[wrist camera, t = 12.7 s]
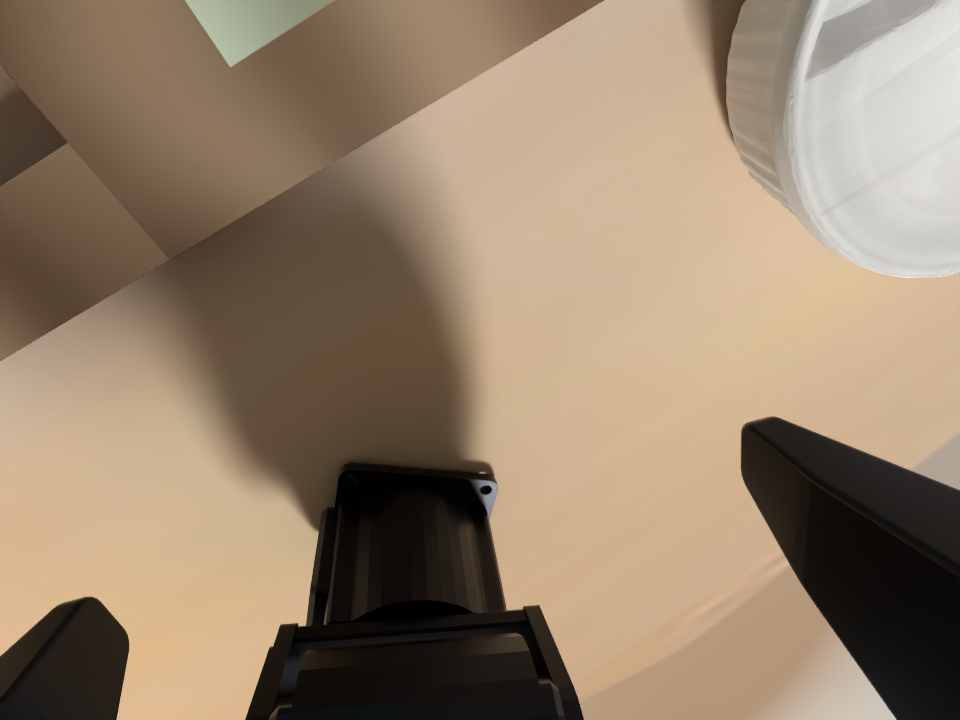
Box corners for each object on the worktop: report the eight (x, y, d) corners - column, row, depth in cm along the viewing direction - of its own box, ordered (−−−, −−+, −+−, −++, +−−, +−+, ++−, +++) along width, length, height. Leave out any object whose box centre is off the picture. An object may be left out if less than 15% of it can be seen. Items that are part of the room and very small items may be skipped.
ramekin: (883, -302, 14) (1115, -461, 10) (1107, -27, 18) (1349, -48, 13) (619, 125, 18) (694, 155, 14) (847, 275, 22) (964, 338, 18)
